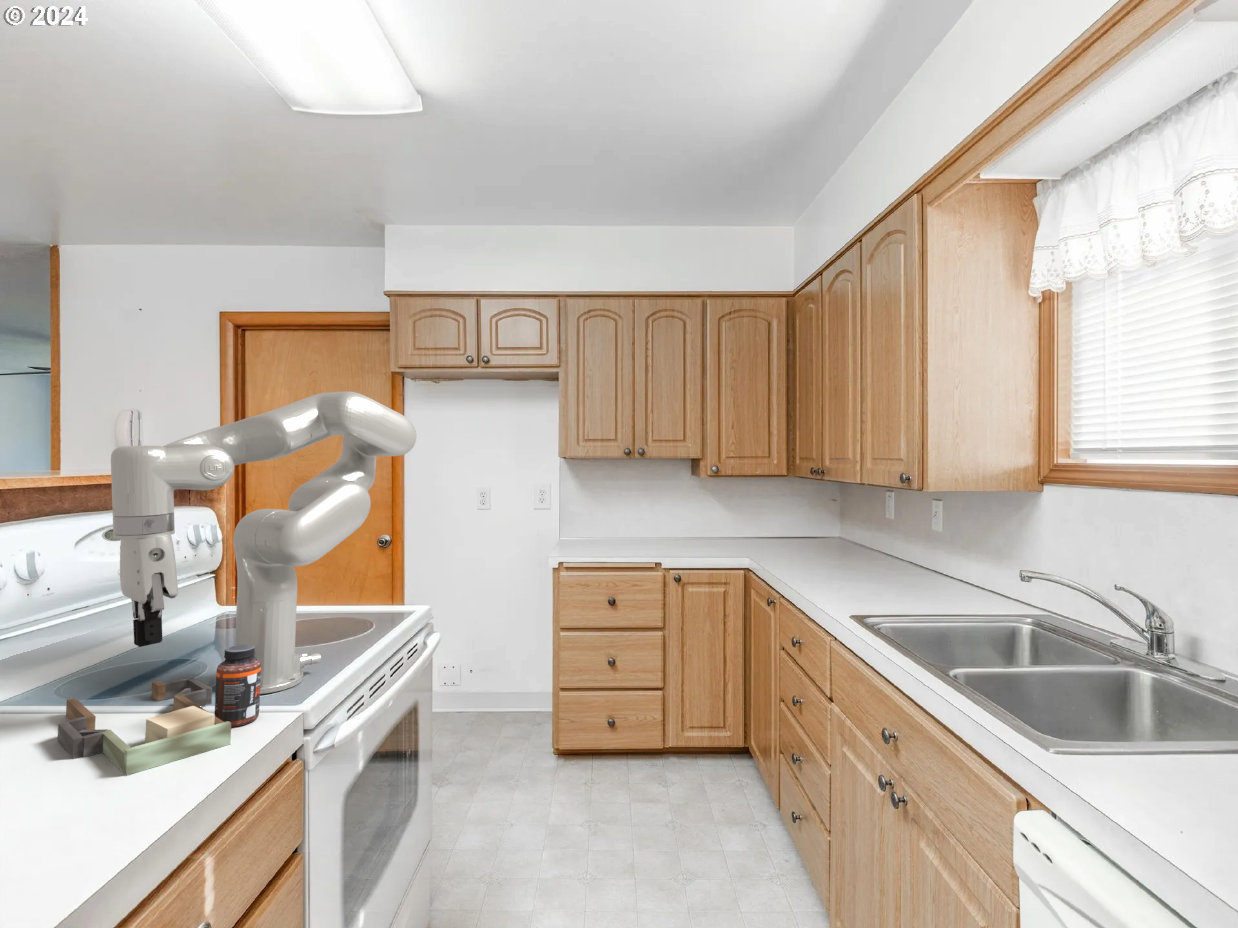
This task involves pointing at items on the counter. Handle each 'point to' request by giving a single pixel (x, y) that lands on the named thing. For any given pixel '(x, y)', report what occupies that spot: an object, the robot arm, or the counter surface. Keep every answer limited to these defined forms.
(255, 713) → the supplement bottle
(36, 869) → the counter surface
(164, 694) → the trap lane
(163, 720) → the block
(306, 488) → the robot arm
